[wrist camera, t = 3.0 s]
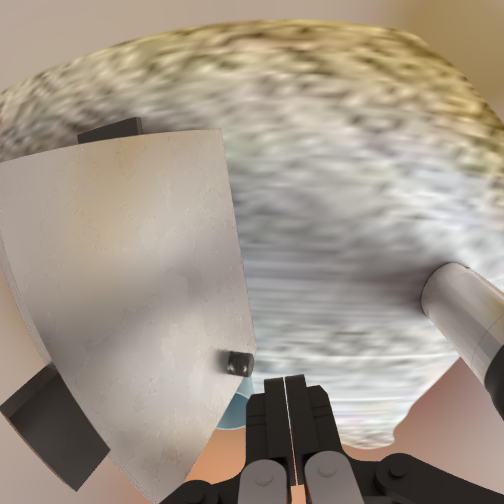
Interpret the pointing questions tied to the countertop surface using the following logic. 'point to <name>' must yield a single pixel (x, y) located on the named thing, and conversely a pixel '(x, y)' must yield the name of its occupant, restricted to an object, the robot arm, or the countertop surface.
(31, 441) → the lid
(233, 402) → the cup
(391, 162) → the countertop surface
